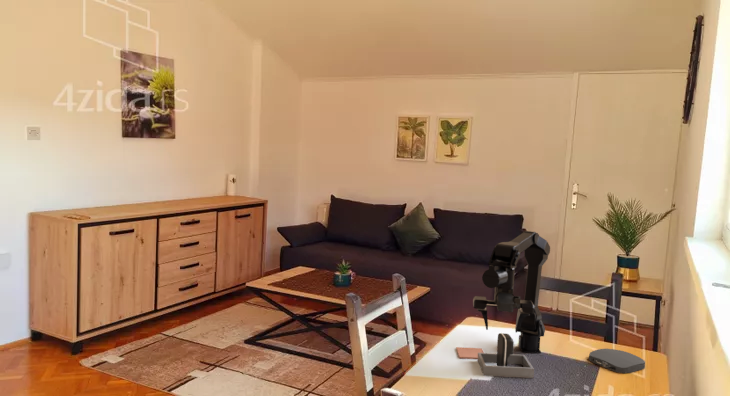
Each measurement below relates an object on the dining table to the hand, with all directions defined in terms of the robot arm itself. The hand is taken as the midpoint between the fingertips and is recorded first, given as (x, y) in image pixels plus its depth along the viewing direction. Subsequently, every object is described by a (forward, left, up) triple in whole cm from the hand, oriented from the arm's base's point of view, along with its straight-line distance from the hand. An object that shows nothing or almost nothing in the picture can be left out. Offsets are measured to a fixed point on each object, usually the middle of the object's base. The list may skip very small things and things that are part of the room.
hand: (501, 330), depth 172 cm
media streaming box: (-42, -11, -14) cm, 45 cm away
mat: (+7, -13, -13) cm, 19 cm away
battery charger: (-2, -1, -13) cm, 13 cm away
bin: (-2, -1, -13) cm, 13 cm away
